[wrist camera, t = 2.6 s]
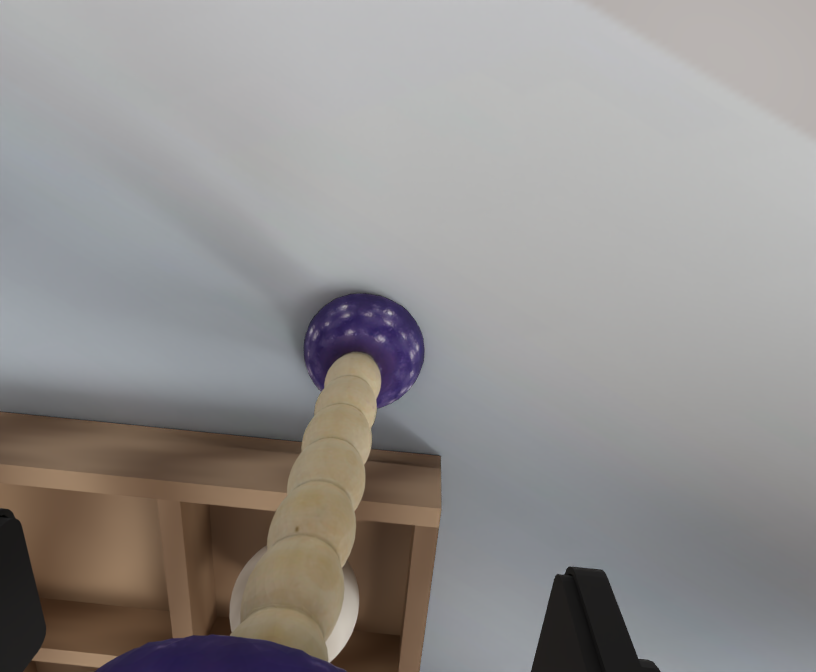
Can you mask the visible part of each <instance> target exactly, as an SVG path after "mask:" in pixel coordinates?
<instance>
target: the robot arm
mask: <svg viewBox="0 0 816 672" xmlns="http://www.w3.org/2000/svg"><path fill="white" fill-rule="evenodd" d="M45 635H46V624H45V620H44V615H43V611H42V607H41V603H40V599H39V595H38V591H37V586H36V582H35V578H34V574H33V570H32V566H31V562H30V557H29V553H28V549H27V545H26V541H25V537H24V533H23V528H22V525H21V522H20V521H19V520H18V519H15V516H14V514H13V512H12V511H11V510H9V509H4V508H0V672H23V671H24V670H25V668H26V667H27V666H28V664H29V663H30V662H31V660H32V659H33V658H34V656H35V655H36V654H37V652H38V651H39V649H40V648H41V646H42V644H43V642H44V639H45ZM531 672H660V670H659V668H658V667H657V666H656V665H655V664H654V663H653V662H652V661H649V660H644V659H638V657H637V654H636V652H635V649H634V646H633V644H632V641H631V638H630V636H629V633H628V630H627V628H626V625H625V622H624V620H623V617H622V615H621V612H620V609H619V607H618V604H617V601H616V599H615V596H614V593H613V591H612V588H611V586H610V583H609V580H608V578H607V576H606V574H605V572H604V571H603V570H599V569H589V568H579V567H568V568H567V569H566V572H565V575H559V574H557V575H556V576H555V579H554V582H553V586H552V590H551V594H550V598H549V602H548V606H547V610H546V614H545V618H544V622H543V626H542V630H541V634H540V638H539V642H538V646H537V650H536V654H535V658H534V662H533V666H532V670H531Z"/></svg>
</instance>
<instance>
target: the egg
mask: <svg viewBox="0 0 816 672" xmlns="http://www.w3.org/2000/svg"><path fill="white" fill-rule="evenodd" d="M266 552H267V545H266V546H265V547H263V548H262V549H261V550H259V551H258V552H257V553H256V554H255V555H254V556H253V557H252V558H251V559H250V560H249V561H248V562H247V564H246V565H245V566H244V568H243V569H242V571H241V572H240V574H239V576H238V578H237V580H236V583H235V585H234V588H233V591H232V596H231V601H230V614H229V618H230V626H231V631H232V632H233V631H234V630H235V629H236V628H237V627H238V626H239V625H240V624H241V623H240V610H241V602H242V597H243V593H244V590H245V587H246V584H247V581H248V578H249V576H250V574H251V573H252V571H253V569H254V567H255V566H256V564H257V563H258V561H259V560H260V559H261V557H262V556H263V555H264V554H265V553H266ZM342 570H343V576H344V588H345V589H344V599H343V604H342V609H341V612H340V615H339V618H338V620H337V623H336V625H335V627H334V629H333V631H332V633H331V635H330V636H329V638H328V639H327V641H326V642H325V644H326V646H327V651H328V659H329V660H328V662H331V661H332V660H333V659H334V658H335V657H336V656H337V655H338V654H339V653H340V651H341V650H342V649H343V648H344V646H345V645H346V643H347V642H348V640H349V638H350V636H351V634H352V632H353V629H354V627H355V624H356V620H357V616H358V610H359V589H358V584H357V580H356V576H355V574H354V571H353V569H352V567H351V565H350V563H349V562H348V561H346V563H345V564H344V566H343V567H342Z"/></svg>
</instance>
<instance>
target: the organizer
mask: <svg viewBox="0 0 816 672" xmlns="http://www.w3.org/2000/svg"><path fill="white" fill-rule="evenodd" d="M301 446H302V442H297V441H287V440H277V439H267V438H257V437H247V436H237V435H227V434H217V433H207V432H197V431H187V430H177V429H167V428H157V427H147V426H137V425H127V424H117V423H107V422H97V421H87V420H77V419H67V418H57V417H47V416H37V415H27V414H17V413H7V412H0V508H4V509H9V510H11V511H12V512H13V514H14V516H15V519H18V520H19V521H20V522H21V525H22V528H23V533H24V537H25V541H26V545H27V549H28V553H29V557H30V562H31V566H32V570H33V574H34V578H35V582H36V586H37V591H38V595H39V599H40V603H41V607H42V611H43V615H44V620H45V624H46V635H45V639H44V642H43V644H42V646H41V648H40V649H39V651H38V652H37V654H36V655H35V656H34V658H33V659H32V660H31V662H30V663H29V664H28V666H27V667H26V668H25V670H24V671H23V672H90V671H93V670H97V669H98V668H100V667H101V666H103V665H104V664H106V663H107V662H109V661H111V660H113V659H114V658H116V657H118V656H120V655H122V654H124V653H126V652H128V651H130V650H132V649H134V648H139V647H141V646H143V645H144V644H146V643H148V642H156V641H163V640H167V639H171V638H185V637H189V636H192V635H198V636H207V635H211V634H214V635H224V636H230V634H231V633H232V631H231V626H230V618H229V614H230V601H231V596H232V591H233V588H234V585H235V583H236V580H237V578H238V576H239V574H240V572H241V571H242V569H243V568H244V566H245V565H246V564H247V562H248V561H249V560H250V559H251V558H252V557H253V556H254V555H255V554H256V553H257V552H258V551H259V550H261V549H262V548H263V547H265V546H266V545H267V538H268V533H269V528H270V525H271V522H272V519H273V517H274V515H275V512H276V510H277V508H278V507H279V505H280V504H281V502H282V501H283V500H284V499H285V498H286V496H287V484H288V478H289V475H290V472H291V469H292V466H293V465H294V463H295V461H296V459H297V458H298V456H299V455H300V454H301V452H302V449H301ZM364 467H365V489H364V492H363V496H362V499H361V501H360V503H359V505H358V507H357V508H356V510H355V511H354V512H355V517H356V533H355V540H354V544H353V547H352V550H351V553H350V555H349V557H348V559H347V561H348V562H349V563H350V565H351V567H352V569H353V571H354V574H355V576H356V580H357V584H358V589H359V610H358V616H357V620H356V624H355V627H354V629H353V632H352V634H351V636H350V638H349V640H348V642H347V643H346V645H345V646H344V648H343V649H342V650H341V651H340V653H339V654H338V655H337V656H336V657H335V658H334V659H333V660H332V661H331V662H329V663H331V664H332V665H334V666H336V667H339V668H342V669H344V670H346V671H347V672H419V671H420V663H421V656H422V648H423V641H424V634H425V626H426V619H427V612H428V604H429V597H430V589H431V582H432V575H433V567H434V560H435V552H436V545H437V538H438V530H439V523H440V516H441V456H436V455H426V454H416V453H406V452H396V451H386V450H376V449H371V450H370V453H369V457H368V459H367V461H366V463H365V464H364Z"/></svg>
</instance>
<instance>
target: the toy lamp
mask: <svg viewBox="0 0 816 672" xmlns="http://www.w3.org/2000/svg"><path fill="white" fill-rule="evenodd" d="M304 358H305V363H306V367H307V370H308V373H309V375H310V377H311V379H312V380H313V382H314V384H315V385H316V386H317V388H318V389H319V390H320V391H321V393H320V395H319V397H318V399H317V401H316V405H315V410H314V417H313V418H312V420H311V421H310V422H309V424H308V426H307V428H306V430H305V433H304V435H303V440H302V446H301V449H302V452H301V454H300V455H299V456H298V458H297V459H296V461H295V463H294V465H293V466H292V469H291V472H290V475H289V478H288V484H287V496H286V498H285V499H284V500H283V501H282V502H281V504H280V505H279V507H278V508H277V510H276V512H275V515H274V517H273V519H272V522H271V525H270V528H269V533H268V538H267V552H266V553H265V554H264V555H263V556H262V557H261V559H260V560H259V561H258V563H257V564H256V566H255V567H254V569H253V571H252V573H251V574H250V576H249V578H248V581H247V584H246V587H245V590H244V593H243V597H242V602H241V610H240V623H241V624H240V625H239V626H238V627H237V628H236V629H235V630H234V631H233V632H232V633H231V634H230V636H224V635H214V634H211V635H207V636H198V635H192V636H189V637H185V638H171V639H167V640H163V641H156V642H148V643H146V644H144V645H143V646H141V647H139V648H134V649H132V650H130V651H128V652H126V653H124V654H122V655H120V656H118V657H116V658H114V659H113V660H111V661H109V662H107V663H106V664H104V665H103V666H101V667H100V668H98V669H97V670H96V671H95V672H347V671H346V670H344V669H342V668H339V667H336V666H334V665H332V664H331V663H329V662H328V660H329V659H328V651H327V646H326V644H325V642H326V641H327V639H328V638H329V636H330V635H331V633H332V631H333V629H334V627H335V625H336V623H337V620H338V618H339V615H340V612H341V609H342V604H343V599H344V589H345V588H344V576H343V570H342V567H343V566H344V564H345V563H346V561H347V559H348V557H349V555H350V553H351V550H352V547H353V544H354V540H355V533H356V517H355V512H354V511H355V510H356V508H357V507H358V505H359V503H360V501H361V499H362V496H363V492H364V489H365V467H364V464H365V463H366V461H367V459H368V457H369V453H370V450H371V445H372V434H371V427H372V425H373V423H374V420H375V417H376V413H377V408H381V407H384V406H386V405H388V404H391V403H393V402H394V401H396V400H398V399H399V398H400V397H402V396H403V395H404V394H405V393H406V392H407V391H408V390H409V389H410V388H411V387H412V385H413V384H414V383H415V381H416V379H417V377H418V375H419V373H420V370H421V368H422V365H423V361H424V341H423V336H422V333H421V330H420V328H419V326H418V325H417V323H416V321H415V320H414V318H413V317H412V316H411V315H410V313H409V312H408V311H407V310H406V309H405V308H403V307H402V306H401V305H399V304H397V303H395V302H394V301H392V300H389V299H387V298H385V297H382V296H377V295H372V294H366V293H363V294H349V295H346V296H342V297H339V298H336V299H334V300H333V301H331V302H330V303H328V304H327V305H325V306H324V307H323V308H322V309H321V310H320V311H319V312H318V314H316V315H315V316H314V318H313V319H312V321H311V322H310V324H309V327H308V330H307V332H306V335H305V341H304Z"/></svg>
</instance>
